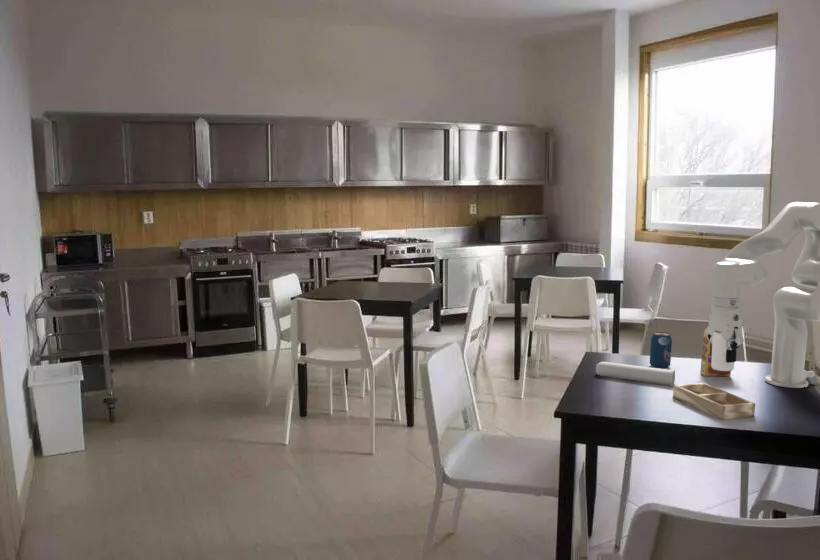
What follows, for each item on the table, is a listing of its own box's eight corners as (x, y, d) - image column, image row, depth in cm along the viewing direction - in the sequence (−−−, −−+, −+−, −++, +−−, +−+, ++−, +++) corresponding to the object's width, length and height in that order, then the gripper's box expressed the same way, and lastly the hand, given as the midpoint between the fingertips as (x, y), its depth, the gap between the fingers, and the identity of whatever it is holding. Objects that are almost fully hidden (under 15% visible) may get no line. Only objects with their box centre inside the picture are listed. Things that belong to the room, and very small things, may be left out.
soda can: (669, 370, 246) (671, 336, 244) (648, 367, 249) (650, 334, 247) (671, 365, 252) (673, 332, 250) (650, 363, 255) (652, 330, 253)
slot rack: (703, 394, 217) (704, 382, 217) (754, 416, 197) (755, 403, 197) (672, 397, 214) (673, 385, 214) (721, 419, 194) (722, 406, 194)
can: (736, 372, 216) (737, 333, 214) (713, 371, 218) (715, 333, 216) (731, 366, 222) (732, 328, 221) (709, 365, 224) (710, 328, 222)
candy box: (705, 376, 238) (708, 332, 236) (699, 373, 242) (702, 329, 240) (731, 376, 238) (734, 332, 236) (725, 373, 243) (728, 329, 241)
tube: (593, 365, 236) (672, 375, 224) (597, 357, 240) (675, 366, 228) (594, 379, 238) (672, 389, 226) (598, 370, 242) (675, 380, 230)
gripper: (756, 306, 210) (753, 365, 212) (716, 296, 226) (713, 351, 229) (735, 308, 208) (732, 367, 210) (696, 298, 224) (694, 353, 227)
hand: (722, 358), depth 220 cm, fingers closed on can, 6 cm apart
